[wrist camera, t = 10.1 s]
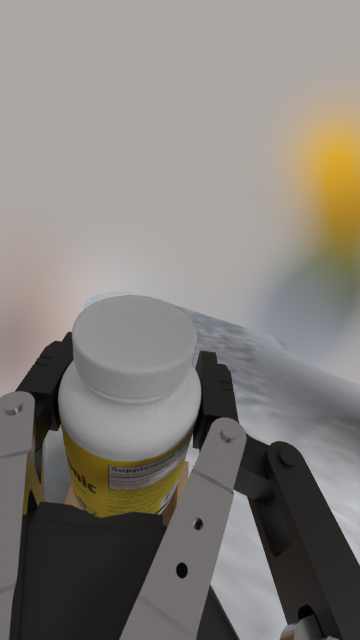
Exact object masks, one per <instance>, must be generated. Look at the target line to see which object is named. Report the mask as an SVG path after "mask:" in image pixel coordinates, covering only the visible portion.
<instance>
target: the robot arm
mask: <svg viewBox="0 0 360 640" xmlns="http://www.w3.org/2000/svg"><path fill="white" fill-rule="evenodd" d="M73 360H74V356H73V341H72V332H68V333H67V334H66V336H65V337H64V339H63V341H62V342H60V341H54V342H53V343H51V344H50V345H49V346H47V347H46V348H45V349H44V350H43V352H42V353H41V355H40V357H39V358H38V359H37V361H36V362H35V364H34V365H33V366H32V368H31V369H30V371H29V372H28V374H27V375H26V376H25V378H24V379H23V381H22V382H21V384H20V385H19V386H18V388H17V389H16V391H15V392H12V393H9V394H6V395H4V396H2V397H1V398H0V640H240V639H239V638H238V636H237V634H236V632H235V630H234V628H233V626H232V624H231V622H230V621H229V619H228V617H227V615H226V613H225V611H224V609H223V607H222V605H221V604H220V602H219V600H218V598H217V596H216V594H215V592H214V590H213V588H212V586H211V585H210V583H211V579H212V575H213V572H214V568H215V564H216V560H217V557H218V553H219V549H220V545H221V542H222V538H223V534H224V530H225V527H226V523H227V519H228V516H229V512H230V508H231V504H232V500H233V495H234V493H233V489H234V490H236V491H238V492H240V493H242V494H244V495H246V496H247V498H248V501H249V504H250V507H251V510H252V513H253V517H254V520H255V523H256V526H257V529H258V532H259V536H260V539H261V542H262V545H263V548H264V551H265V555H266V558H267V561H268V564H269V567H270V570H271V574H272V577H273V580H274V583H275V586H276V589H277V593H278V596H279V599H280V602H281V605H282V608H283V612H284V615H285V618H286V621H287V624H288V626H286V627H285V629H284V630H283V632H282V634H281V637H280V640H360V565H359V563H358V562H357V560H356V558H355V556H354V554H353V552H352V550H351V548H350V546H349V544H348V542H347V540H346V539H345V537H344V535H343V533H342V531H341V529H340V527H339V525H338V523H337V521H336V519H335V517H334V515H333V514H332V512H331V510H330V508H329V506H328V504H327V502H326V500H325V498H324V496H323V494H322V492H321V491H320V489H319V487H318V485H317V483H316V481H315V479H314V477H313V475H312V473H311V471H310V469H309V468H308V466H307V464H306V462H305V460H304V458H303V456H302V455H301V453H300V452H299V451H298V450H297V449H296V448H295V447H293V446H292V445H290V444H288V443H286V442H282V441H277V442H274V443H272V444H271V445H270V446H269V445H267V444H265V443H262V442H260V441H258V440H256V439H254V438H252V437H250V436H249V435H248V434H247V433H246V432H245V430H244V429H243V427H242V426H241V425H240V424H239V421H238V415H237V409H236V403H235V396H234V392H233V384H232V377H231V373H230V371H229V370H228V368H227V367H226V365H223V364H217V356H216V353H215V352H208V351H200V353H199V357H198V361H197V365H196V369H195V370H196V372H197V374H198V377H199V380H200V384H201V392H202V398H201V406H200V410H199V415H198V418H197V421H196V424H195V427H194V431H193V448H197V449H199V456H198V458H197V461H196V463H195V465H194V468H193V470H192V471H191V473H190V476H189V478H188V480H187V483H186V485H185V487H184V490H183V492H182V494H181V497H180V499H179V502H178V504H177V506H176V509H175V511H174V513H173V516H172V518H171V520H170V523H169V525H168V526H167V525H165V524H163V515H160V514H151V513H141V512H129V513H124V514H119V515H113V516H108V517H102V518H100V517H97V516H94V515H92V514H90V513H88V512H86V511H83V510H81V509H79V508H77V507H75V506H72V505H67V504H58V503H49V502H45V500H44V487H43V486H44V452H45V441H44V439H45V437H46V435H47V433H48V431H49V430H54V431H58V429H59V427H60V424H61V420H60V415H59V404H58V393H59V387H60V383H61V380H62V378H63V375H64V373H65V371H66V370H67V368H68V367H69V365H70V364H71V362H72V361H73Z"/></svg>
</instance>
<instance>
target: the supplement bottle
mask: <svg viewBox="0 0 360 640" xmlns="http://www.w3.org/2000/svg"><path fill="white" fill-rule="evenodd" d="M72 341H73V356H74V360H73V361H72V362H71V364H70V365H69V367H68V368H67V370H66V371H65V373H64V375H63V378H62V380H61V383H60V387H59V393H58V404H59V415H60V420H61V427H62V432H63V439H64V444H65V449H66V455H67V460H68V465H69V470H70V476H71V480H72V486H73V490H74V494H75V497H76V500H77V502H78V504H79V506H80V508H81V509H82V510H83V511H86V512H88V513H90V514H92V515H94V516H97V517H100V518H102V517H108V516H113V515H119V514H124V513H129V512H141V513H151V514H160V513H161V512H162V511H163V510H164V508H165V507H166V506H167V505H168V503H169V501H170V500H171V498H172V496H173V494H174V491H175V489H176V486H177V483H178V480H179V477H180V474H181V470H182V467H183V464H184V460H185V457H186V454H187V450H188V447H189V444H190V441H191V437H192V434H193V431H194V427H195V424H196V421H197V418H198V415H199V410H200V406H201V398H202V392H201V384H200V380H199V377H198V374H197V372H196V370H195V368H194V366H193V365H192V361H193V356H194V352H195V348H196V343H197V333H196V329H195V326H194V325H193V323H192V321H191V320H190V318H189V317H188V316H187V315H186V314H185V313H184V312H183V311H181V310H180V309H178V308H177V307H175V306H174V305H171V304H169V303H167V302H165V301H162V300H159V299H155V298H151V297H145V296H132V295H126V296H118V297H112V298H108V299H104V300H101V301H99V302H96V303H94V304H92V305H90V306H89V307H88V308H86V309H85V310H84V311H82V312H81V314H80V315H79V316H78V317H77V319H76V321H75V323H74V326H73V329H72Z"/></svg>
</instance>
